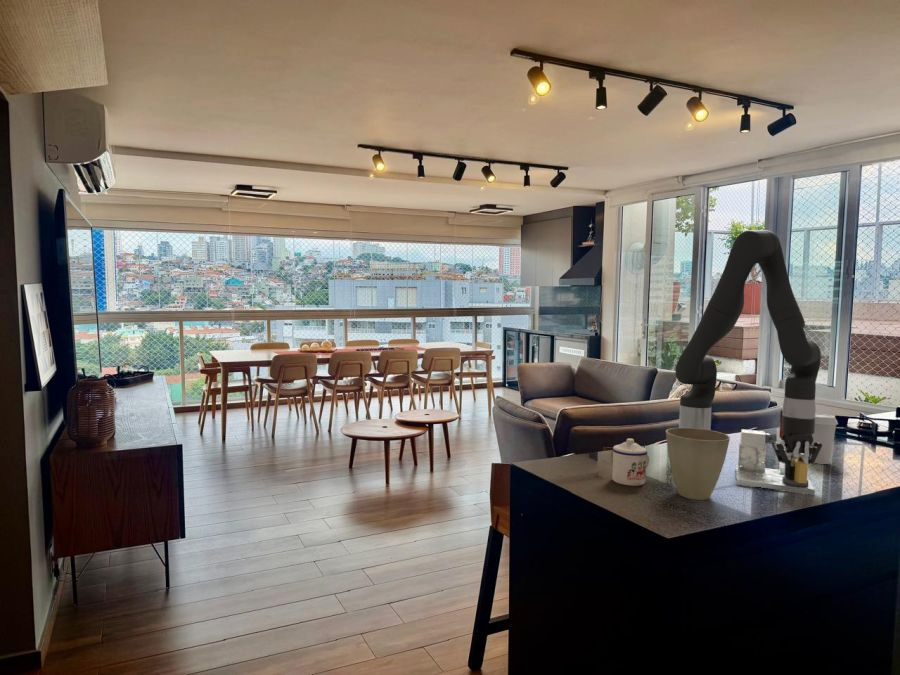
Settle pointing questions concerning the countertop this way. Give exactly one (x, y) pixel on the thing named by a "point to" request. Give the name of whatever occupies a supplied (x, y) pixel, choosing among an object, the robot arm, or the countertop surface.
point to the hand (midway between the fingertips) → (795, 478)
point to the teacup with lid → (629, 463)
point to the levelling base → (770, 484)
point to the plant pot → (696, 460)
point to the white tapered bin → (824, 436)
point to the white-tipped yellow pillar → (798, 475)
